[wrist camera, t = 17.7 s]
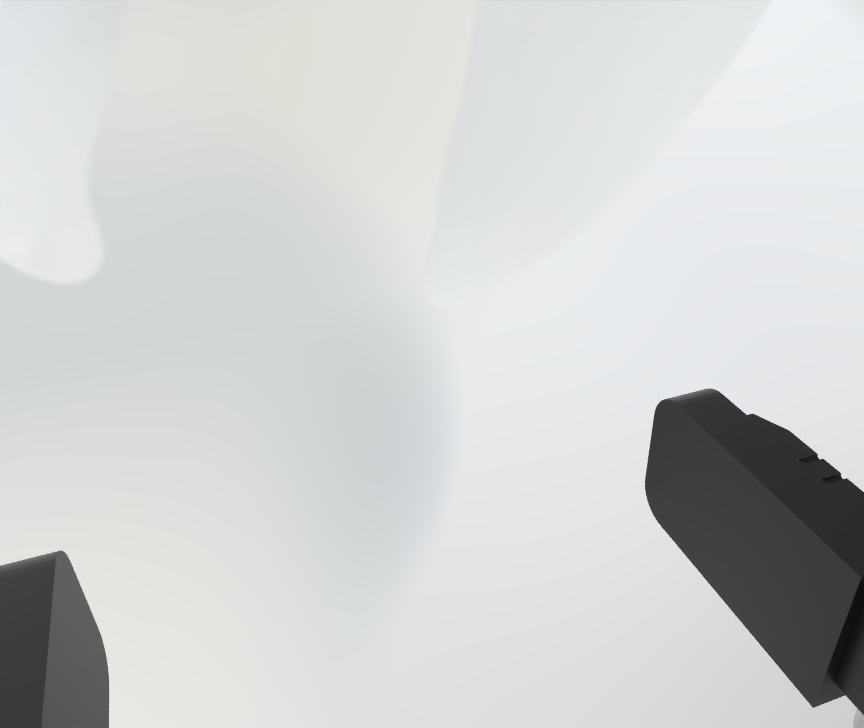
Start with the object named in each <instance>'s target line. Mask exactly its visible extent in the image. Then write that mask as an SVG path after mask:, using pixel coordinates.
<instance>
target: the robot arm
mask: <svg viewBox="0 0 864 728" xmlns="http://www.w3.org/2000/svg"><path fill="white" fill-rule="evenodd" d="M817 455H818V454H817V453H816V452H814V451H813V450H812V449H811V448H810V447H808V446H807V445H806V444H805V443H803V442H802V441H801V440H800V439H798V438H797V437H796V436H795V435H794V434H793V433H791V432H790V431H789V430H787V429H784V428H782V427H780V426H778V425H776V424H774V423H771V422H769V421H767V420H765V419H763V418H761V417H759V416H757V415H755V414H750V415H746V414H745V413H744V412H742V411H741V410H740V409H739V408H738V407H737V406H735V405H734V404H733V403H732V402H731V401H730V400H728V399H727V398H726V397H725V396H724V395H723V394H721V393H720V392H719V391H717V390H714V389H704V390H700V391H697V392H692V393H688V394H684V395H680V396H677V397H673V398H669V399H665V400H662V401H661V402H660V403H659V404H658V405H657V407H656V410H655V414H654V421H653V428H652V435H651V442H650V450H649V456H648V464H647V471H646V478H645V490H646V496H647V500H648V503H649V506H650V508H651V510H652V513H653V515H654V517H655V518H656V520H657V521H658V523H659V524H660V525H661V526H662V528H663V529H664V530H665V531H666V532H667V534H668V535H669V536H670V537H671V538H672V540H673V541H674V542H675V543H676V544H677V546H678V547H679V548H680V549H681V550H682V552H683V553H684V554H685V555H686V556H687V558H688V559H689V560H690V561H691V562H692V563H693V565H694V566H695V567H696V568H697V569H698V571H699V572H700V573H701V574H702V575H703V577H704V578H705V579H706V580H707V581H708V583H709V584H710V585H711V586H712V587H713V589H714V590H715V591H716V592H717V593H718V594H719V596H720V597H721V598H722V599H723V601H724V602H725V603H726V604H727V605H728V607H729V608H730V609H731V610H732V611H733V612H734V614H735V615H736V616H737V617H738V618H739V620H740V621H741V622H742V623H743V624H744V626H745V627H746V628H747V629H748V630H749V632H750V633H751V634H752V635H753V636H754V638H755V639H756V640H757V641H758V642H759V644H760V645H761V646H762V647H763V648H764V650H765V651H766V652H767V653H768V654H769V656H770V657H771V658H772V659H773V660H774V662H775V663H776V664H777V665H778V666H779V668H780V669H781V670H782V671H783V672H784V673H785V675H786V676H787V677H788V678H789V680H790V681H791V682H792V683H793V684H794V685H795V687H796V688H797V689H798V690H799V691H800V693H801V694H802V695H803V696H804V697H805V698H806V700H807V701H808V702H809V703H810V705H811V706H812V707H816V706H819V705H821V704H824V703H827V702H829V701H832V700H834V699H837V698H839V697H842V696H845V695H846V696H847V697H848V698H849V699H850V700H851V701H852V703H853V704H854V705H855V706H856V707H857V708H858V710H857V712H856V714H855V718H854V728H864V492H863V491H862V490H860V489H859V488H858V487H857V486H855V485H854V484H853V483H852V482H851V481H849V480H848V479H842V477H841V473H840V472H839V471H837V470H836V469H835V468H834V467H833V466H831V465H830V464H829V463H827V462H826V461H825V460H824V459H821V460H820V459H819V458H818V456H817ZM0 728H109V675H108V666H107V659H106V653H105V649H104V645H103V641H102V637H101V634H100V632H99V629H98V627H97V624H96V622H95V620H94V617H93V615H92V612H91V610H90V608H89V605H88V603H87V600H86V598H85V596H84V593H83V591H82V588H81V586H80V584H79V581H78V579H77V576H76V574H75V572H74V569H73V567H72V564H71V562H70V560H69V558H68V556H67V555H66V553H65V552H63V551H57V552H53V553H49V554H46V555H41V556H37V557H34V558H29V559H25V560H22V561H18V562H14V563H10V564H6V565H2V566H0Z"/></svg>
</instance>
